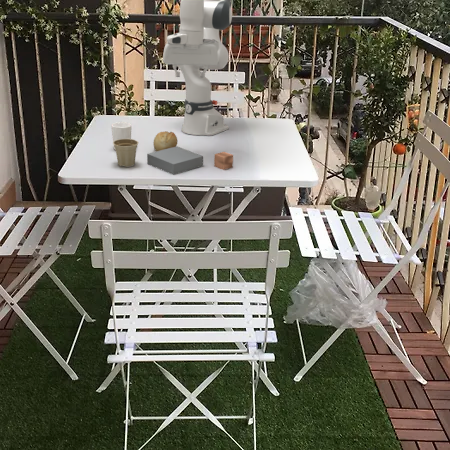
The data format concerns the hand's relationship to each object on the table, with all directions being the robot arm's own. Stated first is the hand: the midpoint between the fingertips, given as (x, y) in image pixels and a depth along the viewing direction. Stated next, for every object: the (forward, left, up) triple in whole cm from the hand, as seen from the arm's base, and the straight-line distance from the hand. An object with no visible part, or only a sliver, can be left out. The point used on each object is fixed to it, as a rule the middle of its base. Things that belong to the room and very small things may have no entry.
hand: (190, 77), depth 219 cm
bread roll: (+2, -12, -32) cm, 34 cm away
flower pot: (+24, -9, -32) cm, 41 cm away
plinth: (+10, +3, -31) cm, 33 cm away
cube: (-3, +16, -32) cm, 36 cm away
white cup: (+14, -25, -32) cm, 42 cm away
